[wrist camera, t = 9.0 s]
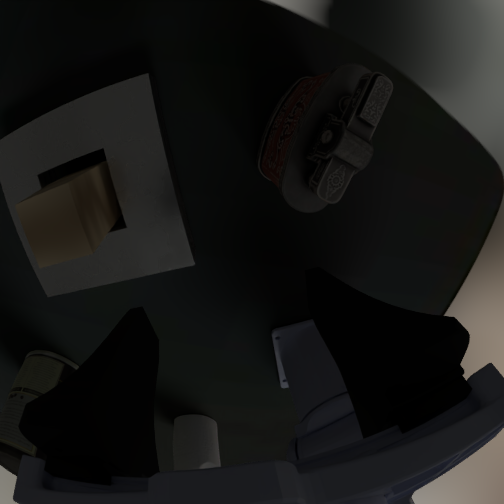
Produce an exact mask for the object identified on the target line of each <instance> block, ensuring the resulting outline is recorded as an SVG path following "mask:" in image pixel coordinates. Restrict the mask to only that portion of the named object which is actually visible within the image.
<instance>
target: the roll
mask: <svg viewBox="0 0 504 504" xmlns="http://www.w3.org/2000/svg"><path fill="white" fill-rule="evenodd" d="M173 455H174V470H191V469H203V468H213V467H221V466H220V457H219V446H218V435H217V423H216V422H215V420H213V419H211V418H209V417H207V416H204V415H197V414H190V415H182V416H179V417H177V418H175V420H174V437H173Z"/></svg>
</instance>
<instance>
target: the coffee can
mask: <svg viewBox="0 0 504 504" xmlns="http://www.w3.org/2000/svg"><path fill="white" fill-rule="evenodd" d="M78 368H79V366H78V365H77V364H75V363H74V362H72V361H71V360H69V359H67V358H65V357H63V356H61V355H59V354H56V353H54V352H50V351H46V350H34V351H31V352H29V353H28V354H27V355H26V357H25V360H24V363H23V365H22V367H21V369H20V371H19V373H18V375H17V377H16V379H15V381H14V384H13V386H12V388H11V390H10V393H9V395H8V397H7V400H6V402H5V405H4V407H3V410H2V412H1V415H0V465H1V466H3V467H4V468H5V469H7V470H8V471H9V472H11V473H12V474H14V475H16V476H18V471H19V467H20V463H21V459H22V455H28V456H32V457H36V458H40V459H42V460H44V461H46V459H47V455H46V454H44V453H43V452H42V451H41V450H39V449H38V448H37V447H36V446H34V445H33V444H32V443H31V442H30V441H28V440H27V439H26V438H25V437H24V436H23V435H22V433H21V432H20V430H19V427H18V426H19V422H20V419H21V417H22V414H23V411H24V408H25V405H26V403H28V402H30V401H32V400H34V399H36V398H38V397H39V396H41V395H43V394H45V393H46V392H48V391H49V390H51V389H52V388H54V387H55V386H57V385H58V384H59V383H61V382H62V381H63V380H65V379H66V378H67V377H68V376H69V375H71V374H72V373H73V372H74V371H76V370H77V369H78Z"/></svg>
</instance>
